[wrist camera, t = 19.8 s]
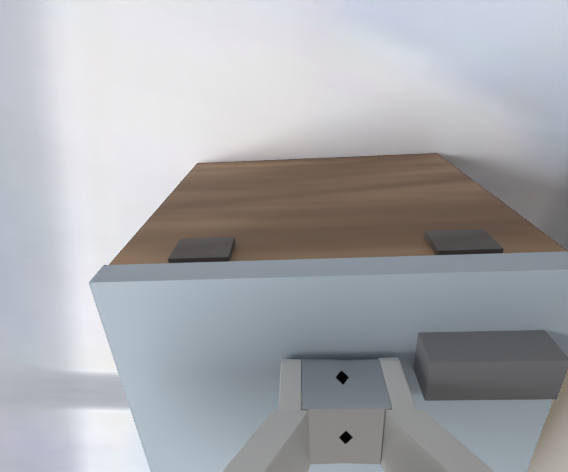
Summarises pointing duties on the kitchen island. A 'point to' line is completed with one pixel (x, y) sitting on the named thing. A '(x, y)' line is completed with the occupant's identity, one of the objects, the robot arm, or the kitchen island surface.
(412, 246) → the pair of wooden panels
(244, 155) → the kitchen island surface
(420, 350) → the cover
